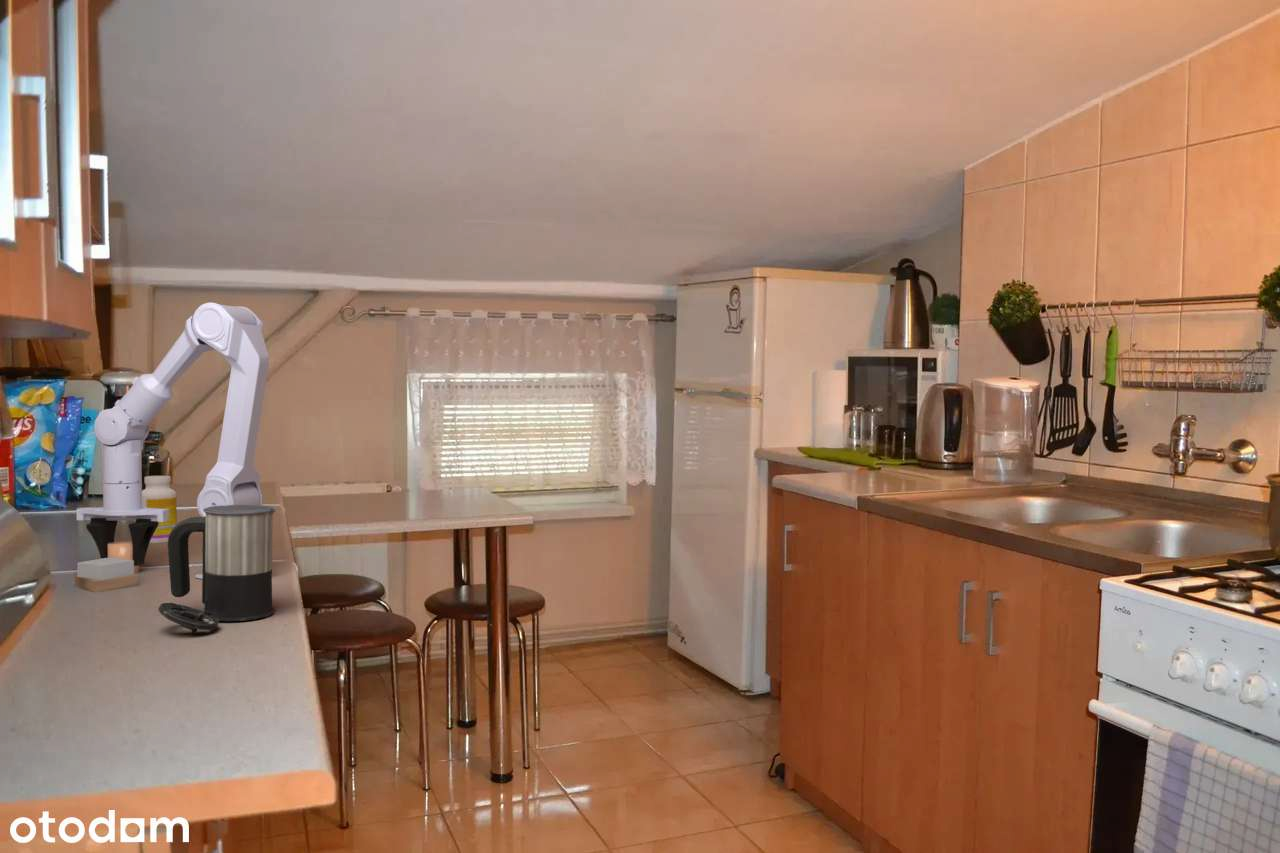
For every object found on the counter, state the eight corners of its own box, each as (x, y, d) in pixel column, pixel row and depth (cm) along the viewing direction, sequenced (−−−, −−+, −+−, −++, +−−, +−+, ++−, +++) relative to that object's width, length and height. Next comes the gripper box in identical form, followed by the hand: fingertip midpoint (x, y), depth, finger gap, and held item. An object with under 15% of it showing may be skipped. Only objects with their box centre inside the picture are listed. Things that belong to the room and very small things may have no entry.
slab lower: (137, 589, 159) (137, 575, 159) (94, 595, 154) (94, 581, 154) (117, 583, 163) (117, 570, 163) (74, 590, 158) (74, 576, 158)
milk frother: (275, 606, 147) (274, 502, 146) (277, 631, 132) (277, 516, 131) (165, 612, 142) (164, 505, 141) (155, 640, 127) (154, 520, 126)
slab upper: (133, 574, 160) (133, 560, 160) (101, 580, 155) (101, 565, 155) (109, 571, 162) (109, 557, 162) (77, 576, 157) (77, 562, 157)
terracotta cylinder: (144, 572, 170) (144, 542, 170) (116, 576, 166) (115, 546, 166) (130, 569, 173) (130, 539, 172) (102, 573, 169) (102, 543, 169)
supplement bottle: (184, 541, 203) (183, 476, 202) (152, 545, 197) (152, 478, 196) (163, 538, 206) (163, 474, 206) (132, 542, 201) (131, 476, 200)
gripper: (177, 480, 172) (178, 560, 173) (93, 479, 173) (94, 559, 174) (156, 484, 165) (157, 568, 166) (68, 483, 166) (69, 566, 167)
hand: (123, 564), depth 169 cm, fingers closed on terracotta cylinder, 5 cm apart
